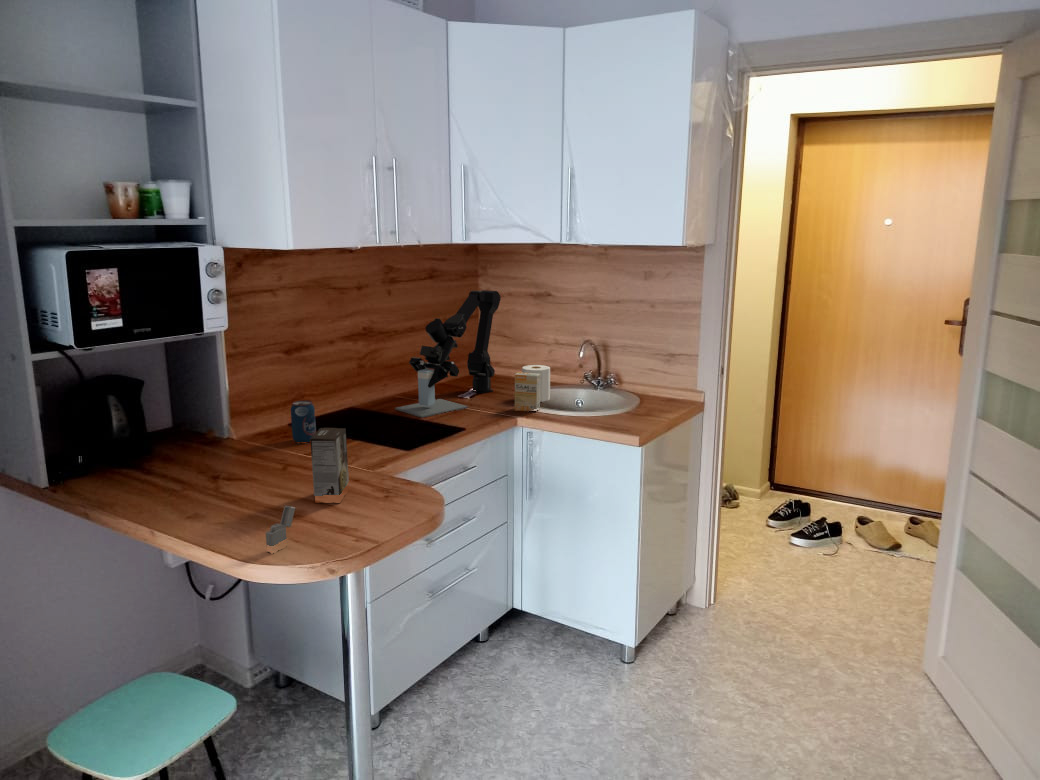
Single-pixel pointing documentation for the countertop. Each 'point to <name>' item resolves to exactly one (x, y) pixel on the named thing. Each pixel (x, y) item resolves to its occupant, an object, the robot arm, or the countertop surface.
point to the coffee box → (329, 461)
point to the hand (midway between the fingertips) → (423, 386)
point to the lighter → (280, 527)
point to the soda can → (303, 420)
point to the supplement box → (527, 391)
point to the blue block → (425, 387)
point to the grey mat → (431, 408)
